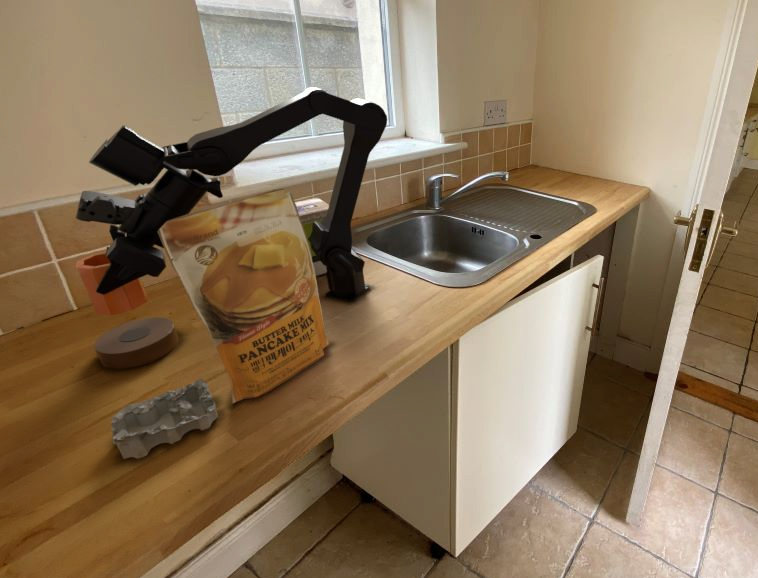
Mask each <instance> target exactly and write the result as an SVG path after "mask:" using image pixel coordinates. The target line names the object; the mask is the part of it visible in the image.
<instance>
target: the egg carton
mask: <svg viewBox="0 0 758 578" xmlns="http://www.w3.org/2000/svg"><path fill="white" fill-rule="evenodd" d="M208 386H209V385H208V384H207V383H206V381H205V380H204V378H203V377H200V378H198V379H197V380H194V381H193V382H191V383H189V384H188V385H187V386H185V387H178V388H177V390H167V391H165V392H164V393H162V394H160V395H157V396H154V397H151V398H149V399H147V400H144V401H140V402H135V403H131V404H128V405H126V406H124V407H122V408H121V409H119V411H118V412H117V413H116V414H114V415H113V416H112V417H111V419H110V425H111V431H112V444H114V445H116V447H117V448H118V450H119V452H120V454H121V456H122V459H123V460H126V459H129V458H135V459H141V458H144V457H145V456H148V454H149V452H150V451H151V449H153V448H155V447H156V446H158V445H160V444H166V443H167V444H171V445H172V444H174V443H176V442H178V441H180V440H182V438H183V436H184V435H185V434H186V433H188V432H190V431H193V430H197V429H198V430H200V431H204V430H207V429H209V428H210V427H211V426H212V424H213V422H214V421H215V420H216V419H218V417H219V414H218V412H217V408H218V407H217V404H216V402H215V400H214V398H213V395H212V393H211V392H210V389H209V387H208Z"/></svg>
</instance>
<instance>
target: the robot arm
mask: <svg viewBox="0 0 758 578" xmlns="http://www.w3.org/2000/svg"><path fill="white" fill-rule="evenodd" d="M320 115H325V116H328V117H331V118H334V119H336V120H340V121H342V133H343V139H344V140H343V141H344V143H343V149H342V154H341V157H340V160H339V165H338V168H337V173H336V177H335V181H334V185H333V188H332V193H331V196H330V201H329V203H328V204H329V208H328V212H327V215H326V217H325V218H324V219H323V220H322V222H321V223H319V222H316V221H313V225H312V233H311V235H310V237H309V238H308V240H309V241H310V243H311V248H312V250H313V251H314V253H315V254H316V256H317V257H318V258H319V260H320V261H321V262H322V263H323V265H325V266H326V268H327V272H326V273H325V276H326V281H327V286H328V290H329V291H327V292H326V293H325V294H324V295H325V297H326V298H330V299H333V300H339V301H344V302H348V303H349V302H350V303H353V302H355V301H356V300H357V299H358V298H359V297H361V296H362V295H363V294H365V293H366V292H367V291H369V289H371V285H370V284H367V283H365V275H364V268H365V264H366V261H365V260H364V259H363V258H362V257H361V256H360V255H359V254H358V253H357V251H355V250H354V249H353V247H352V246H353V233H352V220H353V217H354V212H355V209H356V205H357V201H358V197H359V194H360V190H361V187H362V183H363V179H364V175H365V171H366V168H367V163H368V160H369V156H370V154H371V152H372V151H373V150H374V148H376V146H377V145H378V143H379V142H380V140H381V138H382V136H383V134H384V132H385V130H386V128H387V126H388V115H387V114H386V111H385V110H384V108H382V106H381V105H379V104H377V103H375V102H372V101H369V100H367V99H365V98H354V99H351V100H349V99H346V98H343V97H340V96H338V95H335V94H332V93H328V92H327V91H326V90H324V89H321V88H318V87H314V86H311V87H307V88H306V89H304V90H303V92H301V93H299V94H296V95H294V96H293V97H291V98H288V99H286V100H284V101H282V102H280V103H278V104H276V105H275V106H272V107H270V108H268V109H266V110H264V111H261V112H260V113H257V114H256V115H254V116H252V117H250V118H247V119H246V120H243V121H242V122H238V123H234V124H231V125H225V126H220V127H216V128H213V129H212V128H211V129H209V130H205V131H202V132H199V133H195V134H194V135H192V136H191V137H190V138H189V139H188V140H187V141H183V142H180V143H173V144H170V145H163V146H162V147H161V146H159V145H157V144H155V143H154V142H152V141H151V140H149V139H147V138H145V137H144V136H142V135H140V134H139V133H137V131H136V130H134V129H132V128H130V127H129V126H127V125H122V126H121V127H120V128H118V130H117V131H115V132H114V134H113V135H111V136H110V138H109V139H108V138H106V140H105V141H104V142H103V143H102V144H101V145H100V146H99V148H98V149H97V150H96V151H95V152H94V154H93V155H92V157H91V158H90V159H89V161H88V163H89V164H91V165H93V166H94V167H96V168H99V169H101V170H103V171H105V172H106V173H109V174H111V175H113V176H115V177H117V178H119V179H121V180H123V181H124V182H127V183H128V184H131V185H133V186H134V187H136V186H138V185H142V186H145V185H150V184H152V183H153V182H154V181H155V180H156V179H157V177H158V176H159V175H160V173H161V172H162V171H163V170H164V169H165V172H164V173H163V174H162V175H161V177H160V178H159V179H158V180H157V181H156V182H155V183H154V185H153V186H152V187H151V188H150V190H149V191H148V192H147V193H143V194H141V193H140V194H139V195H138V196H137V197H136V198H135V200H134V199H129V198H125V197H122V196H118V195H112V194H107V193H102V192H97V191H91V190H83V191H82V192H81V195H80V198H79V202H78V207H77V211H76V215H75V219H76V220H79V221H81V222H86V223H87V222H88V223H90V222H94V223H102V224H109V234H110V237H111V239H112V243H110V246H106V250H105V252H106V257H107V258H108V259H109V260H110V262H111V263H110V265H109V266H108V268H107V270H106V272H105V274H104V276H103V278H102V280H101V281H100V283H99V285H98V287H97V289H96V292H97V293H100V294H107V293H109V292H111V291H113V290H115V289H117V288H119V287H121V286H123V285H125V284H127V283H129V282H132V281H134V280H136V279H138V278H140V279H141V278H143V277H145V276H147V275H148V276H150V277H153V278H159V277H160V275H161V274H162V273H163V271H164V270H165V269H166V268H167V262H166V256H165V254H164V251H163V249H164V247H163V244H162V242H161V239H160V237H159V234H158V232H157V231H158V230H159V229H160V228H161V227H162V226H163V225H164V224H165V223H166V221H169V220H172V219H175V218H178V217H180V216H183V215H187V214H190V213H192V211H193V210H194V208H195V207H196V206H197V204H198V203H200V201H201V200H202V199H203V197H204V196H205V195H206V194H207V193H208V194H211V195H213V196H214V197H217V198H218V199H222V198H223V197H224V195H223V192H222V189H221V180H220V178H219V177H220V176H223V175H226V174H227V173H229V172H230V171H232V170H233V169H234V168H235V167H237V166H238V165H239V164H241V163H242V162H243V161H245V160H246V159H247V157H248V156H250V155H251V153H252V152H253V151H254V150H256V149H257V148H259V146H262V145H264V144H265V143H268V142H270V141H271V140H274V139H276V138H277V137H280V136H281V135H283V134H285V133H287V132H289V131H291V130H293V129H295V128H296V127H299V126H301V125H303V124H305V123H307V122H308V121H310V120H312V119H315V118H316V117H318V116H320ZM207 176H209V177H207ZM210 176H211V178H210ZM213 177H214V178H213ZM155 246H157V247H155ZM158 247H160V248H161V249H160V248H158Z"/></svg>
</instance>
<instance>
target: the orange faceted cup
mask: <svg viewBox="0 0 758 578" xmlns="http://www.w3.org/2000/svg"><path fill="white" fill-rule="evenodd" d="M110 263H111V262H110V260H109V259H108V258H107V257H106V251H102V252H97V253H93V254H90V255H88V256H85V257H83V258H80V259H79V260H76V265H75V268H76V269H75V270H76V271H77V273H78V276H79V278H80V279H81V282H82V284H83V286H84V288H85V291H86V293H87V295H88V297H89V299H90V302H91V304H92V306H93V308H94V311H95V313H96V314H97V315H103V316H116V315H119V314H124V313H127V312H131V311H132V312H133V311H134V310H136V309H138V308H139V307H141V306H143V305H145V304H146V303H148V295H147V292H146V289H145V287H144V284H143V282H142V279H141V277H140V278H138V279H136V280H134V281H132V282H129V283H127V284H125V285H123V286H121V287H119V288H117V289H115V290H113V291H111V292H109V293H107V294H100V293H97V292H96V289H97V287H98V285H99V283H100V281H101V280H102V278H103V276H104V274H105V272H106V270H107V268H108V266H109V265H110Z"/></svg>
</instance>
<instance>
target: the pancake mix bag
mask: <svg viewBox="0 0 758 578" xmlns="http://www.w3.org/2000/svg"><path fill="white" fill-rule="evenodd" d="M295 202H296V201H295V198H294V197H293V194H292V191H287V192H285V188H284V187H283V188H277V189H276V188H275V189H272V190H269V191H266V192H261V193H258V194H255V195H251V196H248V197H245V198H240V199H235V200H231V201H225V202H222V203H219V204H215V205H213V206H210V207H206V208H203V209H200V210H196V211H193V212H190V213H189V214H187V215H183V216H180V217H178V218H175V219H172V220H169V221H166V223H165V224H164V225H163V226H162V227H161V228H160V229H159V230H158V231H157V232H158V234H159V237H160V239H161V242H162V244H163V247H164V248H163V249H164V251H165V254H166V255H167V258H168V260H169V262H170V264H171V267H172V268H173V270H174V272H175V273H176V274H177V275H178V278H179V279H180V281H181V283H182V286H183V288H184V290H185V292H186V294H187V296H188V297H187V298H188V299H189V301H190V303H191V305H192V307H193V308H194V310H195V312H196V313H197V315H198V317H199V319H200V320H201V321H202V323H203V324H204V326H205V328H206V329H207V330H208V332H209V335H210V337H211V340H212V343H213V346H214V349H215V351H216V354H217V357H218V358H219V360H220V361H221V363H222V364H223V366H224V368H225V370H226V372H227V375H228V377H229V380H230V385H231V404H236V403H237V402H239V401H242V400H244V399H257V398H259V397H260V396H263V395H265V394H267V393H269V392H270V391H272V390H273V389H275V388H276V387H279V386H280V385H281V384H283V383H285V382H286V381H288V380H289V379H291V378H293V377H294V376H296V375H297V374H298V373H300V372H301V371H303V370H305V369H306V368H308V367H309V366H311V365H313V364H315V363H316V362H317V361H319V360H320V359H321V358H323V357H325V353H324V350H325V349H326V348H327V347H328V346H329V345H330V342H329V340H328V338H327V336H326V333H325V323H324V317H323V308H322V306H321V301H320V295H319V288H318V287H319V286H318V282H317V276H316V275H315V268H314V265H313V262H312V256H311V250H310V247H309V243H308V240H307V237H306V234H305V231H304V228H303V225H302V222H301V220H300V217H299V213H298V209H297V206H296V204H295Z"/></svg>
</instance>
